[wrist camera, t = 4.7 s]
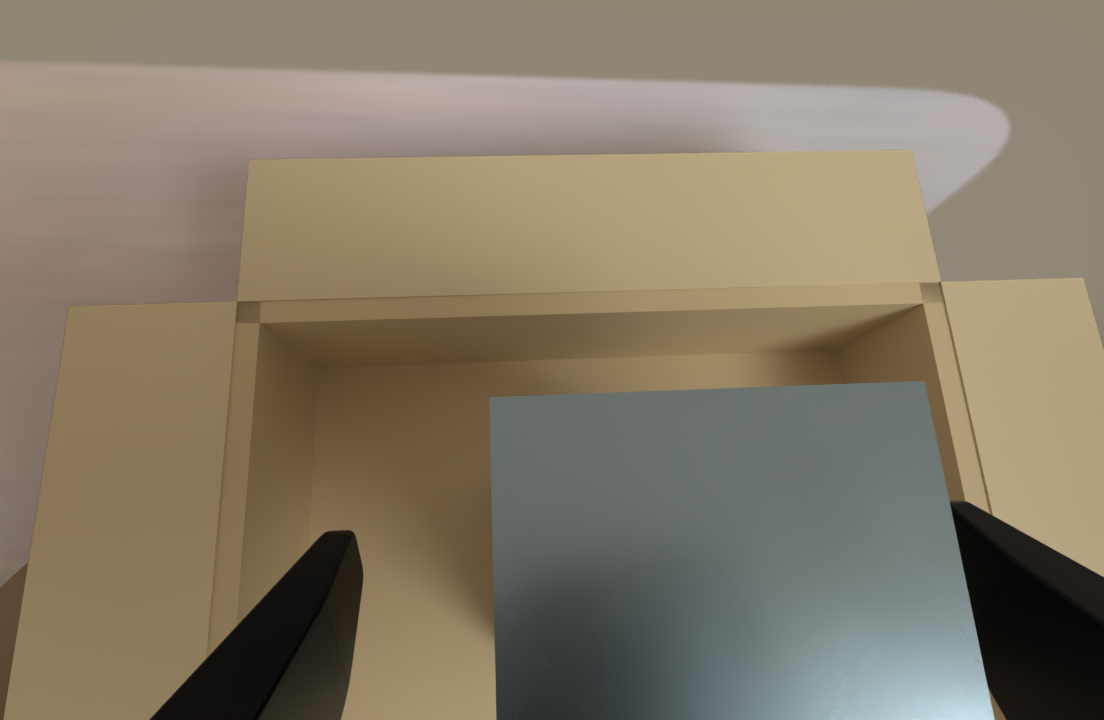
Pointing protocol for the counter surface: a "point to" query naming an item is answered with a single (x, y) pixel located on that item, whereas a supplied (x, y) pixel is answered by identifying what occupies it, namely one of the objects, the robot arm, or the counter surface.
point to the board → (9, 628)
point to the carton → (496, 393)
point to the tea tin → (728, 558)
